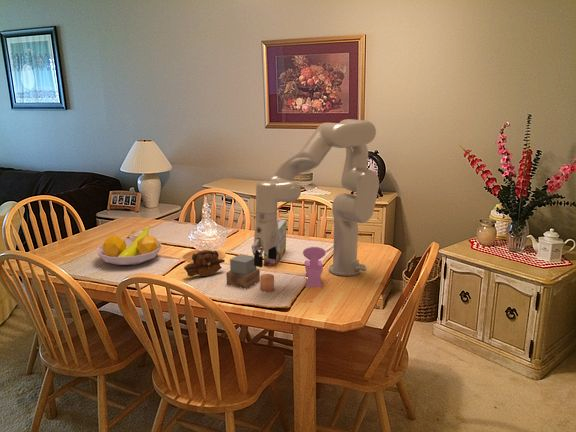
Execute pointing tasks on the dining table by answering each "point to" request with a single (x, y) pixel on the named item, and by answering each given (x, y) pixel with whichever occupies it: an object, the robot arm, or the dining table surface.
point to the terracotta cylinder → (267, 282)
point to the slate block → (242, 264)
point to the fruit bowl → (129, 249)
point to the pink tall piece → (313, 266)
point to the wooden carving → (204, 263)
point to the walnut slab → (243, 279)
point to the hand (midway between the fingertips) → (265, 262)
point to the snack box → (281, 245)
